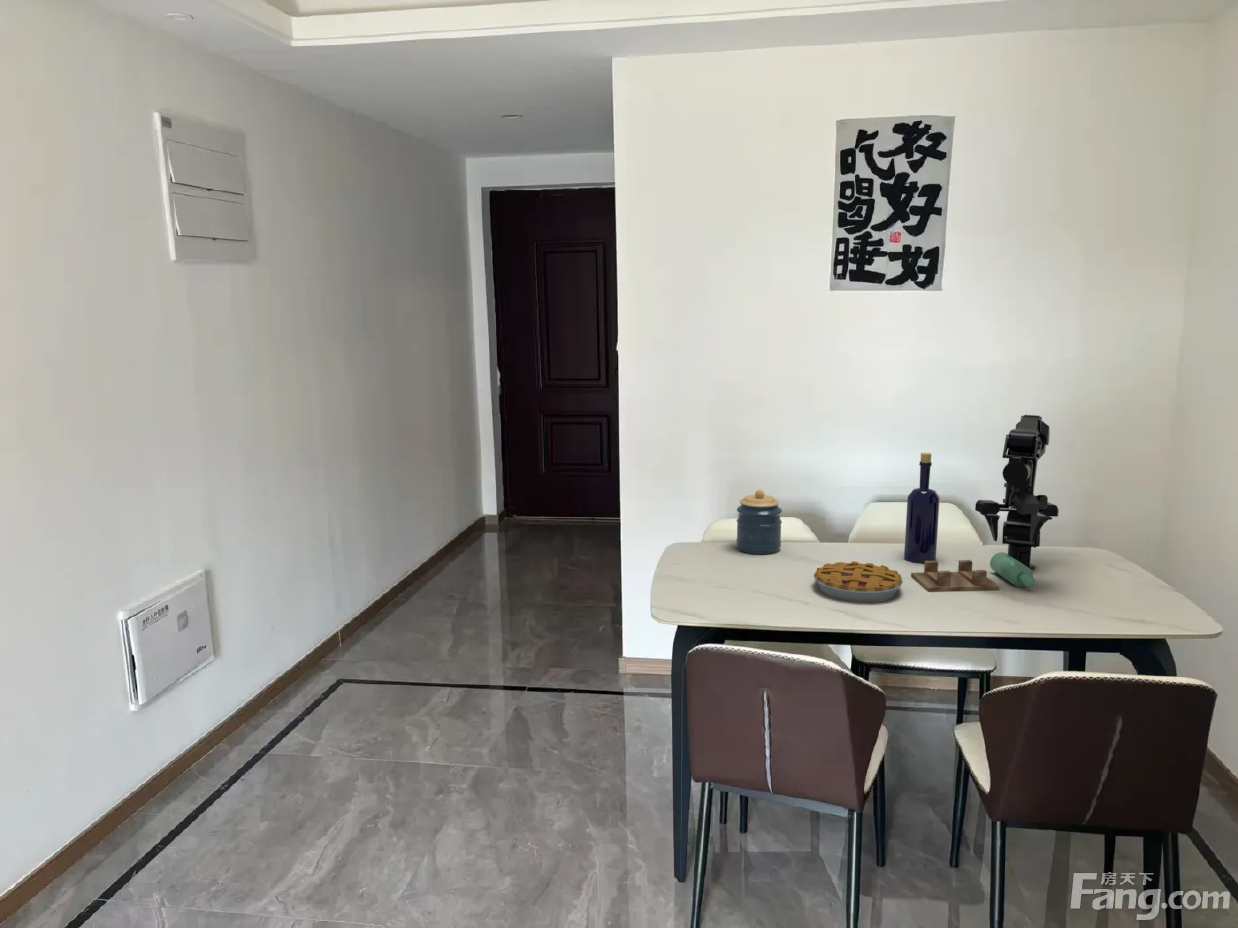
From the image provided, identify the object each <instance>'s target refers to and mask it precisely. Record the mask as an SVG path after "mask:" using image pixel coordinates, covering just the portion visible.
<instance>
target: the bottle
mask: <svg viewBox="0 0 1238 928" xmlns="http://www.w3.org/2000/svg"><path fill="white" fill-rule="evenodd" d="M932 465H933V464H932V452H921V453H920V461H919V466H920V467H919V487H917V488H913V489H912V491H911V492H909V494H908V495H907V500H906V503H907V504H906V518H905V519H906V520H905V534H904V536H905V537H904V553H903V554H904V555H903V560H905V561H907V562H910V563H914V564H922V565H925V561H937V551H938V550H937V549H938V537H939V536H938V532H939V515H940V500H941V498H940V495H939V493H937V491H936V490H935V489H932V488H930V479H931V476H930V475H931V467H932Z"/></svg>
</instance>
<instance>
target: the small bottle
mask: <svg viewBox="0 0 1238 928" xmlns="http://www.w3.org/2000/svg"><path fill="white" fill-rule="evenodd" d="M989 564H990V565H989V566H990V569H991V570H992V571H993V572H995V573H996V574H998V575H999V576H1000V577H1002V578H1003V579H1004V580H1006V581H1008V582H1009V583H1011V584H1012V585H1014V586H1015V587H1017V588H1025V587H1027V588H1030V587H1031V588H1032V587H1033V586H1034V585H1035V583H1036V580H1035V578H1034V573H1033V570H1032V569H1030V568H1028V567H1027V566H1025V565H1024V564H1022V563H1020V562H1019V561H1017V560H1016V559H1014V558H1012V557H1011V556H1009V555H1008V553H1006V552H997V553H995V554H994V555H992V556H991V559H990V561H989Z"/></svg>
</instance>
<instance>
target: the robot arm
mask: <svg viewBox="0 0 1238 928" xmlns="http://www.w3.org/2000/svg"><path fill="white" fill-rule="evenodd" d="M1050 434H1051V432H1050V426H1049V425H1048V424H1047V423H1046V422H1044V421H1043V417H1042V416H1040V415H1034V414H1023V415H1021V416H1020V421H1018V422H1017V423H1016V424H1015V428H1012V429H1011V430H1010V431H1009V432H1008V434H1005V435H1006V436H1005V441H1004V446H1003V452H1002V459H1008V461H1007V464H1006V465H1005V466H1004V467H1003V469H1002V477H1003V479H1004V481H1005V482H1004V484H1003V485H1004V486H1003V487H1004V488H1005V493H1004V496H1005V497H1004V498H1003V499H1002V503H999V502H997V501H995V500H991V499H990V500H989V499H978V500H977V501H976V502H975V508H974V509H975V510H974V511H976V512H977V513H980V515H981V516H984V519H985V520H986V522H987V524H988V527H989V530H990V533H991V536H992V539H993V540H992V541H994V542H997V541H998V538H999V535H998V534H999V520H1000V518H1001V515H999V513H1000V512H1007V514H1006V521H1004V522H1003V524H1002V525H1003V526H1002V536H1001V537H1002V540H1001V541H1002V542H1001V543H1002V545H1005V544H1006V545H1007V554H1008V555H1009V556H1011V557H1012V558H1014V559H1016V560H1017V561H1019V562H1020V563H1022V564H1024V565H1025V566H1027V567H1028V568H1030V569H1031V570H1032V569H1033V570H1035V569H1036V566H1035V565H1034V564H1031V557H1032V548H1035V549H1036V548H1037V547H1039V548H1040V546H1041V529H1042V528H1043V526H1044V524H1045V523H1046V522H1049V521H1052V520H1053V518H1055V517H1056V518H1057V517H1058V518H1059V507H1058V506H1057V505H1056V504H1053V503H1052V502H1049V501H1048V500H1049V498H1048V496H1047V495H1046V494H1038V495H1035V494H1034V493H1035V492H1034V491H1035V484H1036V478H1037V477H1036V476H1037V471H1038V469H1037V468H1038V462H1039V460H1040V459H1041V457H1042V456H1043V455H1044V454H1045V453H1046V448H1047V446H1049V444H1050Z"/></svg>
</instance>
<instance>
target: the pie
mask: <svg viewBox="0 0 1238 928" xmlns="http://www.w3.org/2000/svg"><path fill="white" fill-rule="evenodd" d="M813 579H814V580H815V582H816V583H818V586H819V589H820V590H821V592H822V593H823V592H824V593H823V594H825V595H826V596H827V597H832V598H835V599H839V600H842V601H843V600H846V601H851V602H862V603H863V602H865V603H866V602H868V603H870V602H871V603H874V602H881V601H882V602H883V601H887V600H890V599H892V598H893V597H894V596H895V594H896V592H897V591H898V589H901V587H902V585H903V583H904V581H903V579H902V575H901V574H900V573H899V572H898V571H897V570H893V569H890V568H889V567H887V565H886V566H885V565H883V564H882V565H875V564H874V563H870V562H869V563H868V562H867V563H860V562H859V561H853V560H852V561H851V562H843V561H840V562H838V561H837V562H835V563H832V564H831V563H824V564H823V566H822V567H817V568H816V571H815V572H814V574H813Z"/></svg>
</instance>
